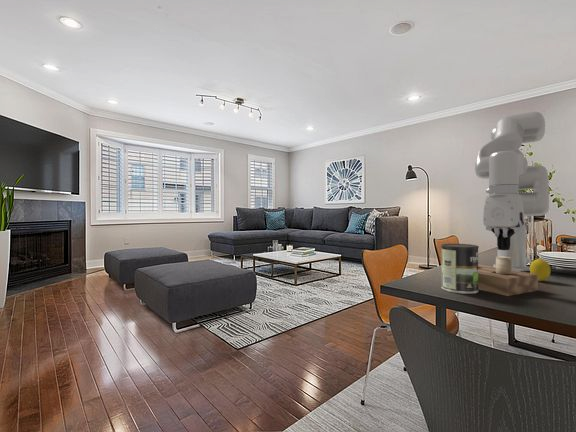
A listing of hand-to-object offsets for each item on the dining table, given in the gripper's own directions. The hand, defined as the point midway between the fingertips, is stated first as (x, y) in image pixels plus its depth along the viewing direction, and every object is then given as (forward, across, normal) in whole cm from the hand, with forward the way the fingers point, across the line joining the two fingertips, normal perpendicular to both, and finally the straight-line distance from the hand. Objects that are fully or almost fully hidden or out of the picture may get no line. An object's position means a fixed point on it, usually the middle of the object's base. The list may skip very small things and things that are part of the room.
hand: (503, 249), depth 95 cm
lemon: (+12, -2, +21) cm, 25 cm away
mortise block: (+12, -6, 0) cm, 14 cm away
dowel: (+12, 0, 0) cm, 13 cm away
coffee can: (+13, -6, -12) cm, 19 cm away
